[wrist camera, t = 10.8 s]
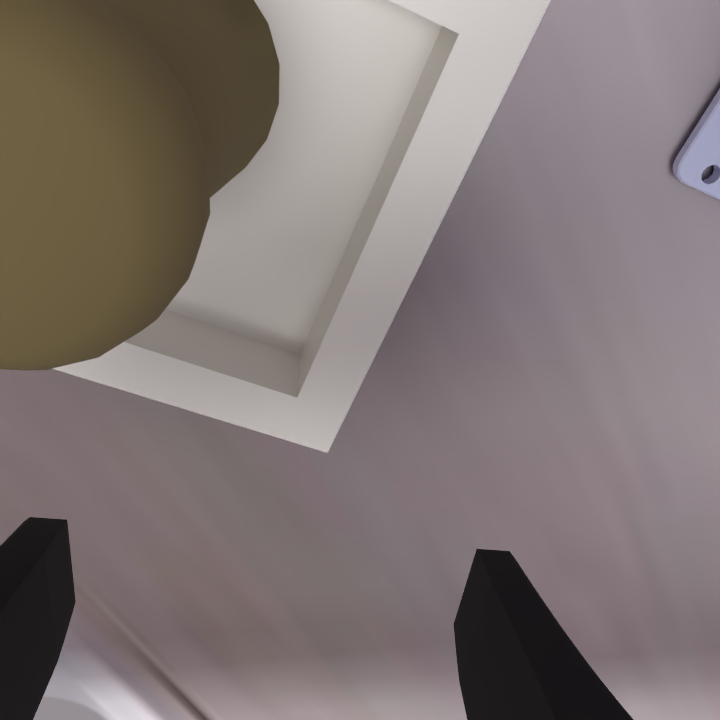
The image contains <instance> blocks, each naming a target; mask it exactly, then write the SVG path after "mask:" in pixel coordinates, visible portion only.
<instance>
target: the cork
mask: <svg viewBox="0 0 720 720" xmlns="http://www.w3.org/2000/svg"><path fill="white" fill-rule="evenodd" d="M279 68H280V64H279V60H278V57H277V53H276V50H275V46H274V43H273V39H272V35H271V32H270V28H269V25H268V22H267V21H266V19H265V17H264V16H263V14H262V13H261V11H260V9H259V8H258V6H257V4H256V3H255V1H254V0H0V369H9V370H48V369H52V368H57V367H61V366H65V365H69V364H73V363H78V362H82V361H86V360H90V359H95V358H99V357H100V356H102V355H103V354H105V353H107V352H108V351H110V350H111V349H113V348H115V347H116V346H118V345H120V344H121V343H123V342H124V341H126V340H128V339H129V338H131V337H133V336H134V335H136V334H137V333H139V332H141V331H142V330H143V329H145V328H146V327H148V326H149V325H150V324H152V323H153V322H154V321H156V320H157V319H158V318H159V316H160V315H161V314H162V313H163V311H164V310H165V309H166V307H167V306H168V305H169V304H170V302H171V301H172V300H173V298H174V297H175V296H176V295H177V293H178V292H179V291H180V290H181V288H182V287H183V286H184V284H185V283H186V282H187V281H188V279H189V277H190V274H191V271H192V269H193V266H194V264H195V261H196V257H197V254H198V251H199V248H200V245H201V241H202V238H203V235H204V232H205V229H206V225H207V222H208V219H209V216H210V197H212V196H213V195H214V194H215V193H216V192H218V191H219V190H220V189H221V188H222V187H223V186H225V185H226V184H227V183H228V182H229V181H230V180H232V179H233V178H234V177H235V176H236V175H237V174H239V173H240V172H241V171H242V170H243V169H244V168H246V166H247V165H248V164H249V162H250V161H251V160H252V159H253V157H254V156H255V155H256V153H257V152H258V151H259V149H260V148H261V147H262V145H263V144H264V143H265V141H266V140H267V138H268V135H269V132H270V129H271V126H272V123H273V120H274V117H275V114H276V111H277V108H278V105H279Z"/></svg>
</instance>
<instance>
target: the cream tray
mask: <svg viewBox="0 0 720 720" xmlns="http://www.w3.org/2000/svg"><path fill="white" fill-rule="evenodd" d="M254 1H255V3H256V4H257V6H258V8H259V9H260V11H261V13H262V14H263V16H264V17H265V19H266V21H267V22H268V25H269V28H270V32H271V35H272V39H273V43H274V46H275V50H276V53H277V57H278V60H279V64H280V68H279V105H278V108H277V111H276V114H275V117H274V120H273V123H272V126H271V129H270V132H269V135H268V138H267V140H266V141H265V143H264V144H263V145H262V147H261V148H260V149H259V151H258V152H257V153H256V155H255V156H254V157H253V159H252V160H251V161H250V162H249V164H248V165H247V166H246V168H244V169H243V170H242V171H241V172H240V173H239V174H237V175H236V176H235V177H234V178H233V179H232V180H230V181H229V182H228V183H227V184H226V185H225V186H223V187H222V188H221V189H220V190H219V191H218V192H216V193H215V194H214V195H213V196H212V197H210V216H209V219H208V222H207V225H206V229H205V232H204V235H203V238H202V241H201V245H200V248H199V251H198V254H197V257H196V261H195V264H194V266H193V269H192V271H191V274H190V277H189V279H188V281H187V282H186V283H185V284H184V286H183V287H182V288H181V290H180V291H179V292H178V293H177V295H176V296H175V297H174V298H173V300H172V301H171V302H170V304H169V305H168V306H167V307H166V309H165V310H164V311H163V313H162V314H161V315H160V316H159V318H158V319H157V320H156V321H154V322H153V323H152V324H150V325H149V326H148V327H146V328H145V329H143V330H142V331H141V332H139V333H137V334H136V335H134V336H133V337H131V338H129V339H128V340H126V341H124V342H123V343H121V344H120V345H118V346H116V347H115V348H113V349H111V350H110V351H108V352H107V353H105V354H103V355H102V356H100V357H99V358H95V359H90V360H86V361H82V362H78V363H73V364H69V365H65V366H61V367H57V368H52V369H55V370H58V371H62V372H65V373H68V374H71V375H75V376H78V377H81V378H85V379H88V380H91V381H94V382H98V383H101V384H104V385H107V386H111V387H114V388H117V389H120V390H124V391H127V392H130V393H134V394H137V395H140V396H143V397H147V398H150V399H153V400H156V401H160V402H163V403H166V404H170V405H173V406H176V407H179V408H183V409H186V410H189V411H192V412H196V413H199V414H202V415H205V416H209V417H212V418H215V419H219V420H222V421H225V422H228V423H232V424H235V425H238V426H241V427H245V428H248V429H251V430H255V431H258V432H261V433H264V434H268V435H271V436H274V437H277V438H281V439H284V440H287V441H291V442H294V443H297V444H300V445H304V446H307V447H310V448H313V449H317V450H320V451H323V452H326V453H328V451H329V449H330V447H331V445H332V443H333V441H334V439H335V437H336V435H337V433H338V431H339V429H340V427H341V425H342V423H343V421H344V419H345V417H346V415H347V413H348V411H349V409H350V407H351V404H352V402H353V400H354V398H355V396H356V394H357V392H358V390H359V388H360V386H361V384H362V382H363V380H364V378H365V376H366V374H367V372H368V370H369V368H370V366H371V364H372V362H373V360H374V358H375V356H376V354H377V352H378V350H379V348H380V346H381V344H382V342H383V340H384V338H385V336H386V334H387V332H388V330H389V327H390V325H391V323H392V321H393V319H394V317H395V315H396V313H397V311H398V309H399V307H400V305H401V303H402V301H403V299H404V297H405V295H406V293H407V291H408V289H409V287H410V285H411V283H412V281H413V279H414V277H415V275H416V273H417V271H418V269H419V267H420V265H421V263H422V261H423V259H424V257H425V255H426V252H427V250H428V248H429V246H430V244H431V242H432V240H433V238H434V236H435V234H436V232H437V230H438V228H439V226H440V224H441V222H442V220H443V218H444V216H445V214H446V212H447V210H448V208H449V206H450V204H451V202H452V200H453V198H454V196H455V194H456V192H457V190H458V188H459V186H460V184H461V182H462V180H463V178H464V175H465V173H466V171H467V169H468V167H469V165H470V163H471V161H472V159H473V157H474V155H475V153H476V151H477V149H478V147H479V145H480V143H481V141H482V139H483V137H484V135H485V133H486V131H487V129H488V127H489V125H490V123H491V121H492V119H493V117H494V115H495V113H496V111H497V109H498V107H499V105H500V103H501V100H502V98H503V96H504V94H505V92H506V90H507V88H508V86H509V84H510V82H511V80H512V78H513V76H514V74H515V72H516V70H517V68H518V66H519V64H520V62H521V60H522V58H523V56H524V54H525V52H526V50H527V48H528V46H529V44H530V42H531V40H532V38H533V36H534V34H535V32H536V30H537V28H538V26H539V23H540V21H541V19H542V17H543V15H544V13H545V11H546V9H547V7H548V5H549V3H550V1H551V0H254Z"/></svg>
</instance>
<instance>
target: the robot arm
mask: <svg viewBox="0 0 720 720" xmlns="http://www.w3.org/2000/svg"><path fill="white" fill-rule="evenodd" d="M711 165H714V171H713V173H712V175H711V176H710V177H709V178H708V179H705V180H702V177H701V175H702V173H703V171H704V170H705V169H706V168H707V167H708V166H711ZM673 173H674V176H675V177H676V178H677V179H678V180H679V181H681V182H682V183H684V184H686V185H688V186H690V187H692V188H694V189H697V190H699V191H701V192H703V193H705V194H708V195H710V196H712V197H714V198H716V199H718V200H720V89H719V91H718V92H717V94H716V95H715V97H714V98H713V100H712V102H711V103H710V105H709V106H708V108H707V109H706V111H705V113H704V114H703V116H702V117H701V119H700V120H699V122H698V124H697V125H696V127H695V128H694V130H693V131H692V133H691V135H690V136H689V138H688V139H687V141H686V142H685V144H684V146H683V147H682V149H681V150H680V152H679V153H678V155H677V157H676V159H675V161H674V163H673ZM74 605H75V593H74V583H73V573H72V563H71V554H70V544H69V534H68V524H67V520H62V519H48V518H34V517H30V518H28V519H27V520H26V521H24V522H23V523H22V524H21V525H20V526H19V527H18V528H17V529H16V530H15V531H14V532H13V533H12V535H11V536H10V537H9V538H8V539H7V540H6V541H5V542H4V543H3V544H2V545H1V546H0V720H33V718H34V716H35V713H36V711H37V709H38V706H39V704H40V702H41V699H42V697H43V695H44V692H45V690H46V688H47V685H48V683H49V681H50V678H51V676H52V674H53V671H54V669H55V666H56V664H57V661H58V659H59V655H60V652H61V649H62V646H63V643H64V639H65V636H66V633H67V629H68V626H69V622H70V619H71V616H72V612H73V609H74ZM454 632H455V644H456V655H457V664H458V673H459V681H460V686H461V691H462V696H463V701H464V705H465V710H466V715H467V719H468V720H633V719H632V718H631V716H630V715H629V714H628V713H627V712H626V710H625V709H624V708H623V707H622V706H621V704H620V703H619V702H618V701H617V700H616V698H615V697H614V696H613V695H612V693H611V692H610V691H609V690H608V688H607V687H606V686H605V685H604V683H603V682H602V681H601V680H600V678H599V677H598V676H597V674H596V673H595V672H594V671H593V669H592V668H591V667H590V665H589V664H588V663H587V661H586V660H585V659H584V657H583V656H582V655H581V653H580V652H579V651H578V649H577V648H576V647H575V645H574V644H573V642H572V641H571V640H570V638H569V637H568V636H567V634H566V633H565V632H564V630H563V629H562V627H561V626H560V625H559V623H558V622H557V620H556V619H555V617H554V616H553V615H552V613H551V612H550V610H549V609H548V607H547V606H546V604H545V603H544V601H543V600H542V598H541V597H540V596H539V594H538V593H537V591H536V590H535V588H534V587H533V585H532V584H531V582H530V581H529V579H528V578H527V576H526V575H525V573H524V572H523V570H522V569H521V567H520V565H519V564H518V562H517V561H516V560H515V558H514V557H513V555H512V554H511V553H510V551H498V550H484V549H477V550H476V553H475V557H474V560H473V563H472V566H471V570H470V573H469V576H468V579H467V583H466V586H465V589H464V593H463V596H462V599H461V602H460V606H459V609H458V612H457V616H456V619H455V622H454Z"/></svg>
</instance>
